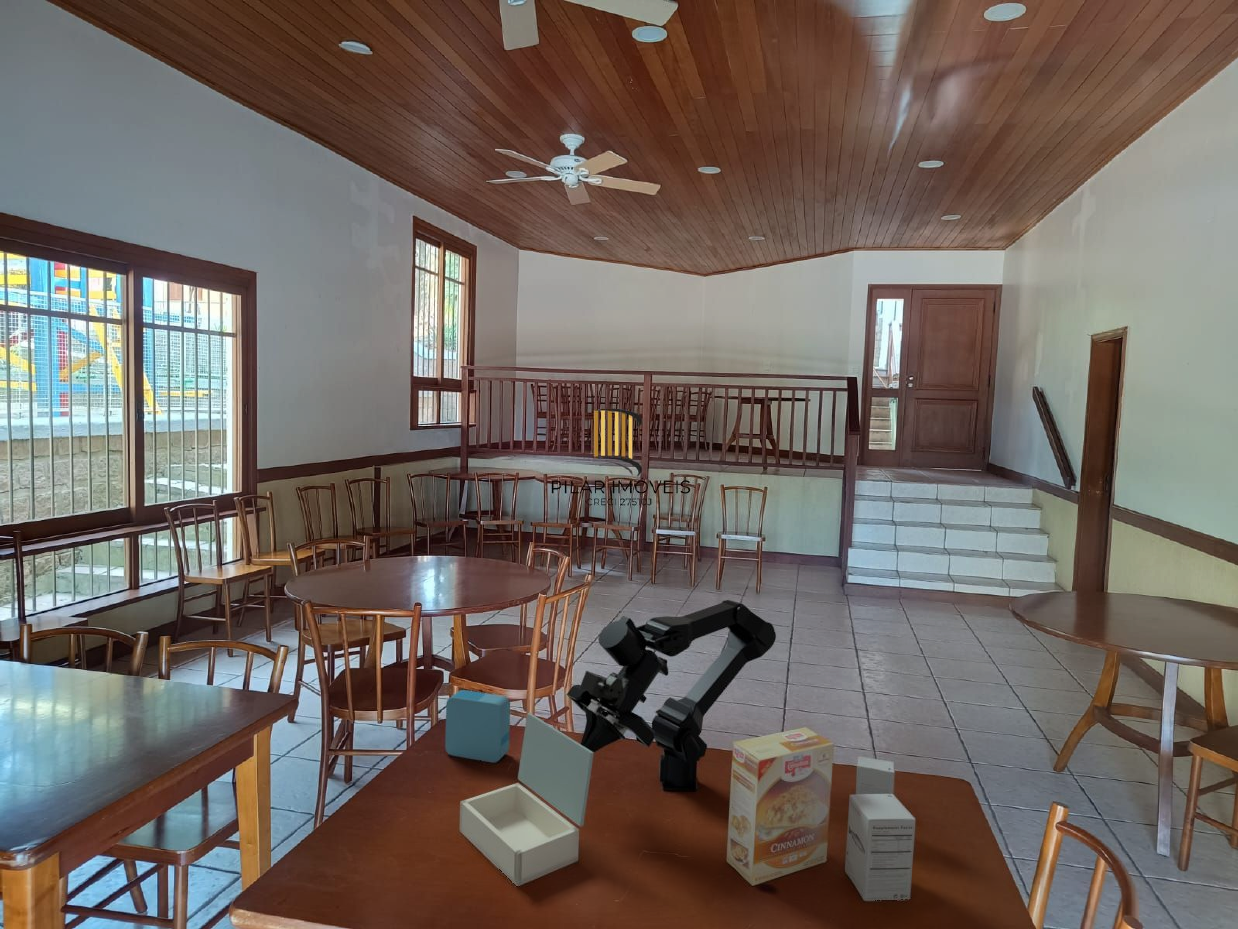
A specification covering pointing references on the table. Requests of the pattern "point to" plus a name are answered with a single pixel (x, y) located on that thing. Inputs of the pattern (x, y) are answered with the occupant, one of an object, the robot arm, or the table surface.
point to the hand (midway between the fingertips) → (580, 756)
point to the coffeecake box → (779, 804)
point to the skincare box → (874, 776)
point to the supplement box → (880, 847)
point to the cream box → (519, 833)
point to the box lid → (556, 768)
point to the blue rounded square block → (477, 726)
